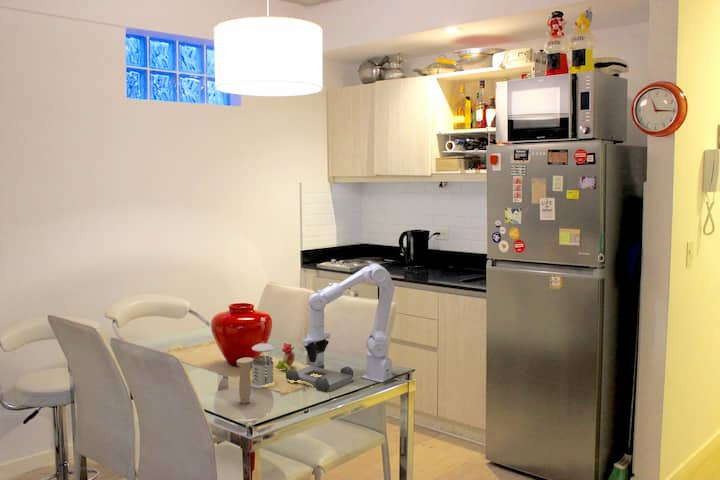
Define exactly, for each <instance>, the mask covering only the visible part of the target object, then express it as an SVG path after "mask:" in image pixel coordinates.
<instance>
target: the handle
mask: <svg viewBox="0 0 720 480" xmlns="http://www.w3.org/2000/svg"><path fill="white" fill-rule="evenodd" d="M253 358H254V357H247V356H246V357H241V358H239V359H237V360H236V366H238V367H239V370H240V371H239V382H238V384H239V385H238V386H239V387H238V388H239V389H238V391H239V398H240V404H243V405H244V404H249V403H250V398H251V391H252V386H251V381H252V379H251V367H252V364H253V362H254V359H253Z"/></svg>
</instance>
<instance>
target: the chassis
mask: <svg viewBox="0 0 720 480" xmlns="http://www.w3.org/2000/svg"><path fill="white" fill-rule="evenodd" d="M313 373H314V374H318V375H322V376H321V377H314V376H310V375H311V374H313ZM285 378H286V380H287V379H289V380H294V381H297V380H301V381H305V382H308V383H310V384H312V385H313V387H312V388H315V389H316V390H318V391H319V392H323V391H326V392H332V391H335V390H336V389H337V390H338V389H339V388H341V387H344V386H346V385H348V384H351V383H353V378H354V370H353V369H352V367H350V366H344V367H343V368H341V370H340V372H339V371H335V370H330V369H327V368H325V364H324V365H321V366H319V367H315V366H311V365H308V366H307V367H303V368H301V369H298V370H296V369H293V368H291V370H286V373H285Z"/></svg>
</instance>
